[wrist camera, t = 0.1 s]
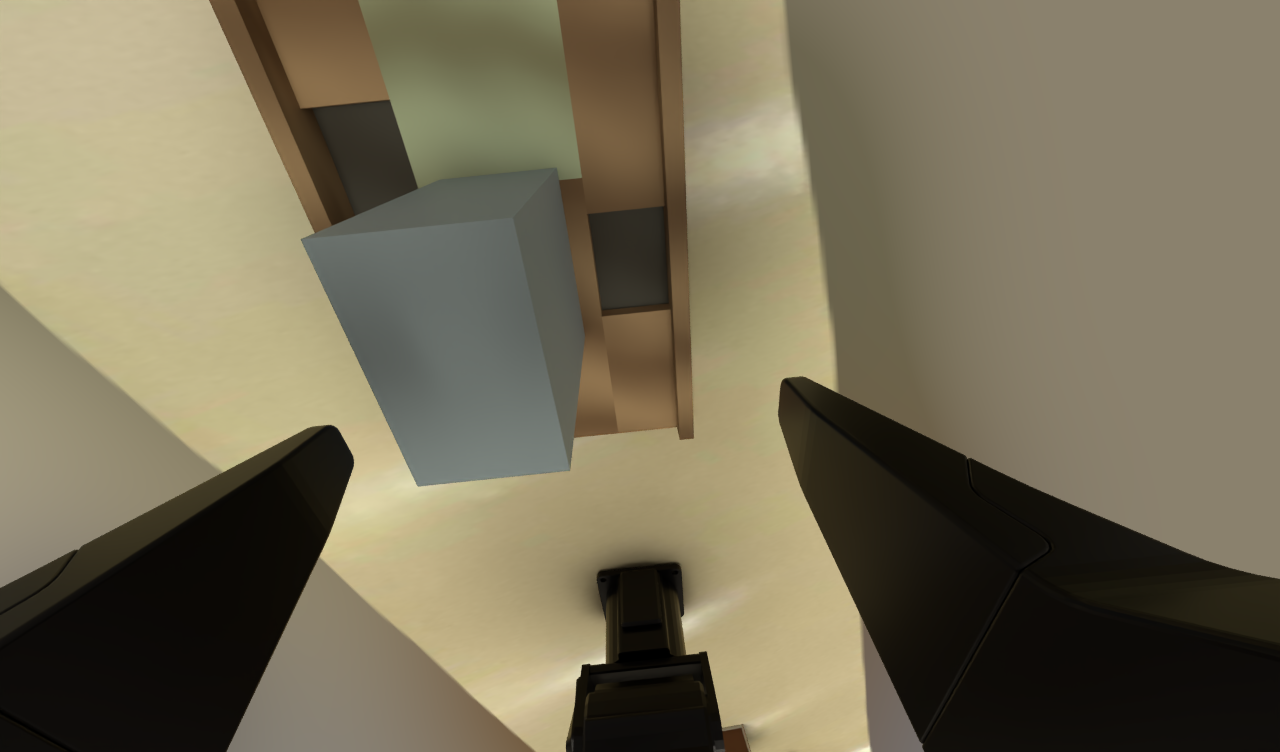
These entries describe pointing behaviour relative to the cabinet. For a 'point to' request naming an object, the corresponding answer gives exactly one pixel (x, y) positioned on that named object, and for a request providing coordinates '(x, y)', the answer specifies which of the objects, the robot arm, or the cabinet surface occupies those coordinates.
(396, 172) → the tray
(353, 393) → the cabinet surface
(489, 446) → the slate block
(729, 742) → the food container
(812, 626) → the cabinet surface
